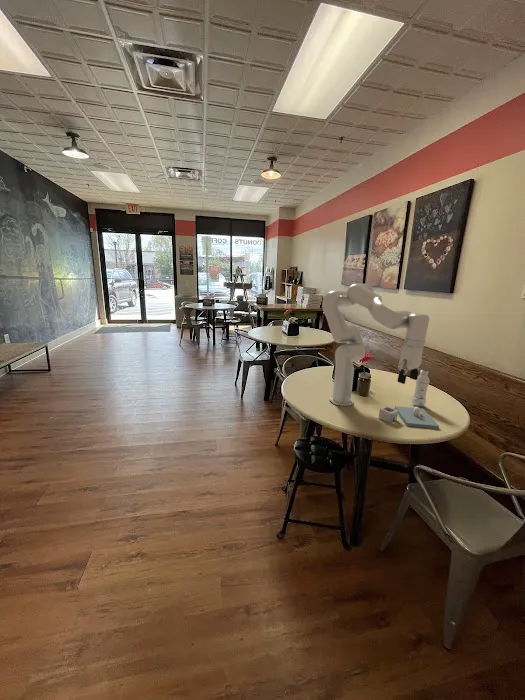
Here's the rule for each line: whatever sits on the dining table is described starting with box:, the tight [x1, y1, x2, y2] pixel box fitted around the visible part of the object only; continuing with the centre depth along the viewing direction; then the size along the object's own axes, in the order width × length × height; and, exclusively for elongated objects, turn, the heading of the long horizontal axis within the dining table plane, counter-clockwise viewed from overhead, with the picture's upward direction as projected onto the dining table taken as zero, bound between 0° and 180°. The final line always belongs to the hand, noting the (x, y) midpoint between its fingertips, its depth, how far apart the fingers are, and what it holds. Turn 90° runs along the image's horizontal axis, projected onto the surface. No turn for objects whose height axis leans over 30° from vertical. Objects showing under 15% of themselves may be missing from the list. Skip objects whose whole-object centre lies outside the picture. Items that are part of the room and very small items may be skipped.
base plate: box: [394, 405, 440, 430], centre depth 141 cm, size 18×14×6 cm
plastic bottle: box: [411, 368, 431, 408], centre depth 154 cm, size 6×7×20 cm
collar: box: [378, 405, 399, 424], centre depth 139 cm, size 6×6×5 cm
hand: (407, 380), depth 127 cm, fingers open, 9 cm apart
